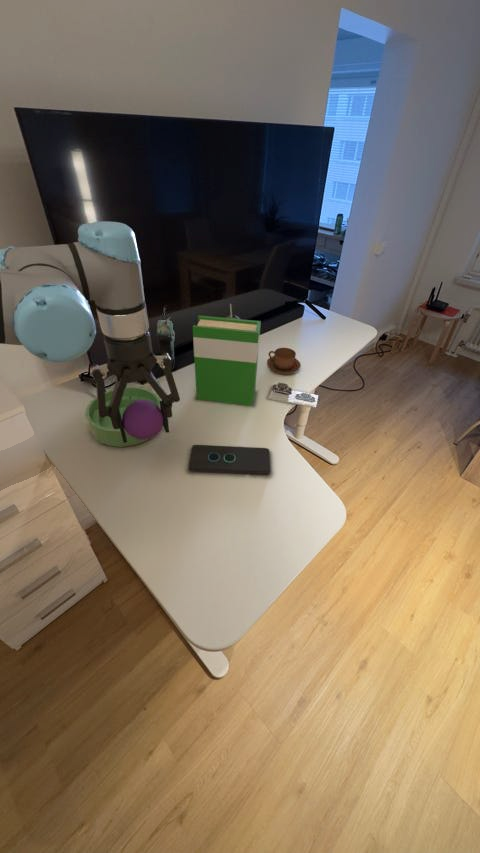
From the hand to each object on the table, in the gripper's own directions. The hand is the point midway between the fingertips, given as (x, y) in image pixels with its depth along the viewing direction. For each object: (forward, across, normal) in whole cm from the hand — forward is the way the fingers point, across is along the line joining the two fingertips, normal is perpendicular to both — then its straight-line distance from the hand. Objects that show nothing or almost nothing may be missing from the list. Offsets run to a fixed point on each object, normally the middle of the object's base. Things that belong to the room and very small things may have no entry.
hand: (145, 433), depth 71 cm
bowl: (+15, +2, -23) cm, 28 cm away
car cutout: (+16, -48, -18) cm, 54 cm away
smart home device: (+16, -19, 0) cm, 25 cm away
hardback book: (+16, -28, -27) cm, 42 cm away
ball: (-4, 0, 0) cm, 4 cm away
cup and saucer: (+16, -54, -36) cm, 66 cm away
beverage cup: (+16, -39, -50) cm, 65 cm away
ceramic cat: (+16, -17, -55) cm, 60 cm away
